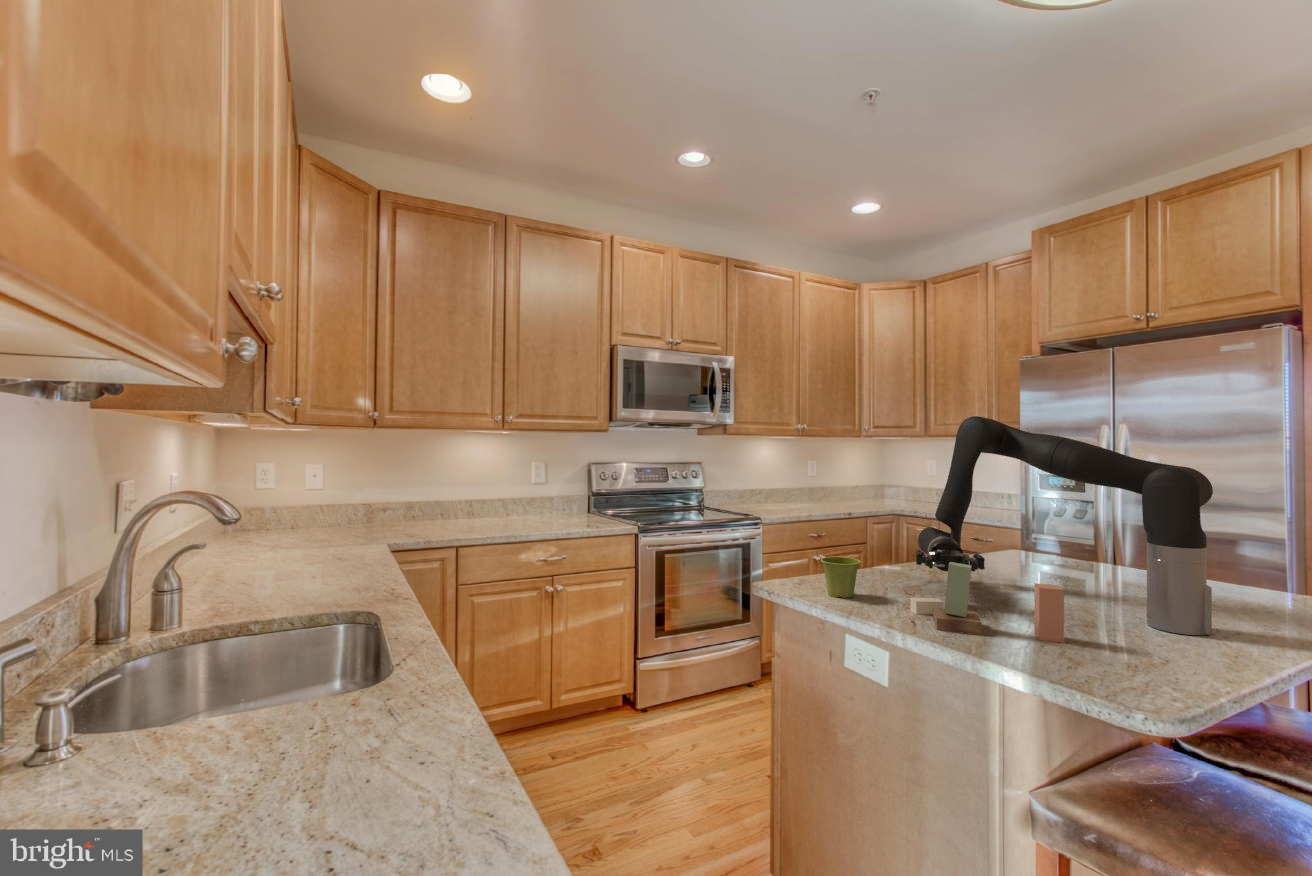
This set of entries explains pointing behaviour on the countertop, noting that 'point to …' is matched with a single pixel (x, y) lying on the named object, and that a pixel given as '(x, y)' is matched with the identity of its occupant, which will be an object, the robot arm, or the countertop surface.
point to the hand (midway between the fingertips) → (952, 565)
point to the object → (840, 575)
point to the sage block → (957, 589)
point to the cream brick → (925, 605)
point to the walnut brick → (957, 622)
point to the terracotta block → (1049, 612)
